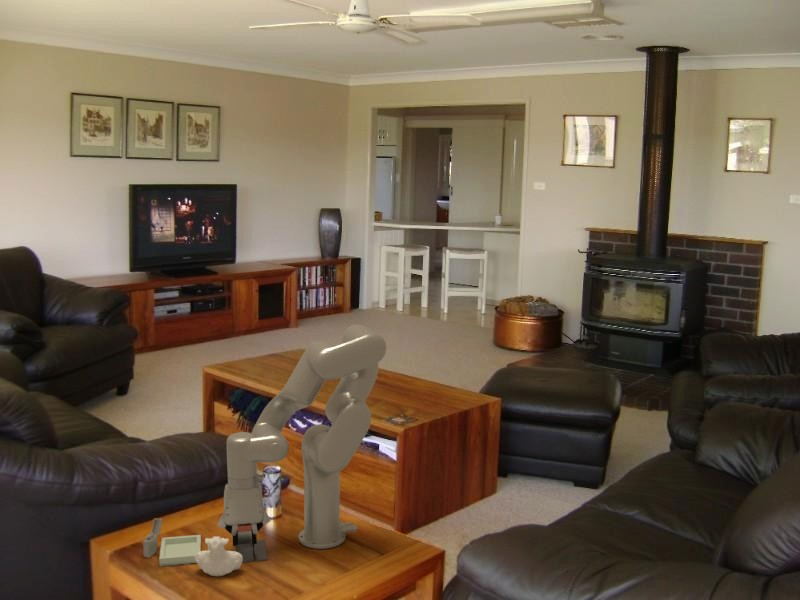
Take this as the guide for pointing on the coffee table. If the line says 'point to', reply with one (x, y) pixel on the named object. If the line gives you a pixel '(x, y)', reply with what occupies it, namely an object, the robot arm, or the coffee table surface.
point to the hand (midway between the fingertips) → (244, 546)
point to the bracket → (247, 551)
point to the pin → (244, 534)
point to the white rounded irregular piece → (218, 558)
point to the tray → (179, 550)
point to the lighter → (152, 539)
